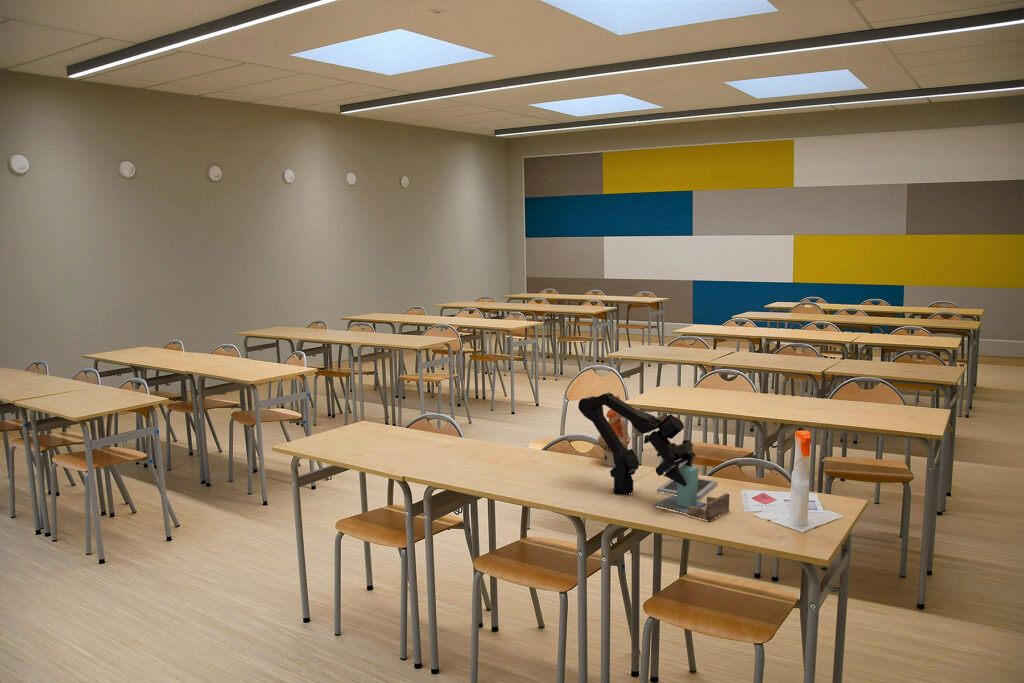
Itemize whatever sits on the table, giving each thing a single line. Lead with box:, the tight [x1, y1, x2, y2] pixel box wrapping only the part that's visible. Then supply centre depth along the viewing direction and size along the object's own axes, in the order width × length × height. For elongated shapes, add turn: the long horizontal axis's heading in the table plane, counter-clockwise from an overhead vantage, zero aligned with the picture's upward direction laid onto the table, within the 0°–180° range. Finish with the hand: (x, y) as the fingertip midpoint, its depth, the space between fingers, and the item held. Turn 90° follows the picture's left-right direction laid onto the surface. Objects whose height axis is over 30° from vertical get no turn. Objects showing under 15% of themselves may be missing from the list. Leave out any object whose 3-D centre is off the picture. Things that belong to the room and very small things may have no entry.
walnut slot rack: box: [688, 492, 730, 522], centre depth 261 cm, size 8×14×6 cm, turn 139°
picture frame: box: [656, 477, 718, 500], centre depth 288 cm, size 16×3×21 cm
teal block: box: [676, 465, 699, 508], centre depth 267 cm, size 5×5×13 cm
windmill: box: [597, 394, 640, 468], centre depth 317 cm, size 17×14×30 cm
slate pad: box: [653, 495, 707, 514], centre depth 269 cm, size 13×13×1 cm
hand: (690, 483), depth 265 cm, fingers open, 7 cm apart
